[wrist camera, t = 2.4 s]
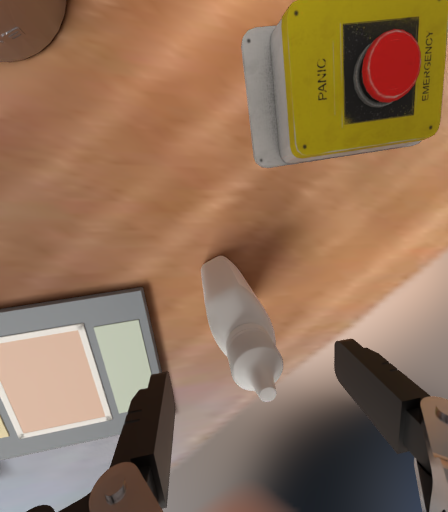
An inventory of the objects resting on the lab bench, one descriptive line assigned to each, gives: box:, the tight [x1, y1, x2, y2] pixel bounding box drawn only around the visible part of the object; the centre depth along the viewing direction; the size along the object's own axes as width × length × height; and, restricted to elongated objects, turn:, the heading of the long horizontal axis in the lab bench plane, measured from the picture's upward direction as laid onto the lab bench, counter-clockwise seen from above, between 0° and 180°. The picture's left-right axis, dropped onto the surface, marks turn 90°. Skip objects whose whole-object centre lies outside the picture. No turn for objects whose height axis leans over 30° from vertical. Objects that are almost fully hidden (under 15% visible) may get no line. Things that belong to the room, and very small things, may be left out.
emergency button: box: [241, 0, 448, 168], centre depth 16 cm, size 9×4×15 cm
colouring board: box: [0, 287, 162, 461], centre depth 20 cm, size 14×18×1 cm
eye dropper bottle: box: [201, 256, 283, 402], centre depth 15 cm, size 4×6×12 cm
